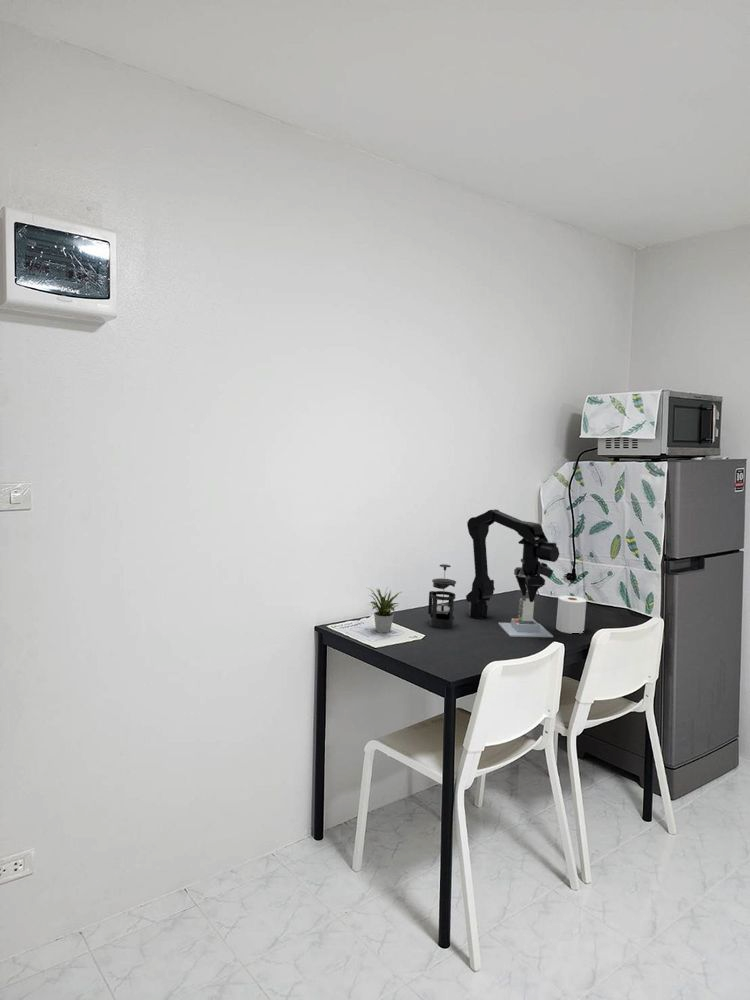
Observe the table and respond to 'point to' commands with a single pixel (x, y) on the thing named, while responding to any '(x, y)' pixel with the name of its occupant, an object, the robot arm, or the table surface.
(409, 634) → the table surface
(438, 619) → the french press
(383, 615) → the house plant
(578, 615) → the toilet paper
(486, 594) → the robot arm
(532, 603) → the column
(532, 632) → the stand base
